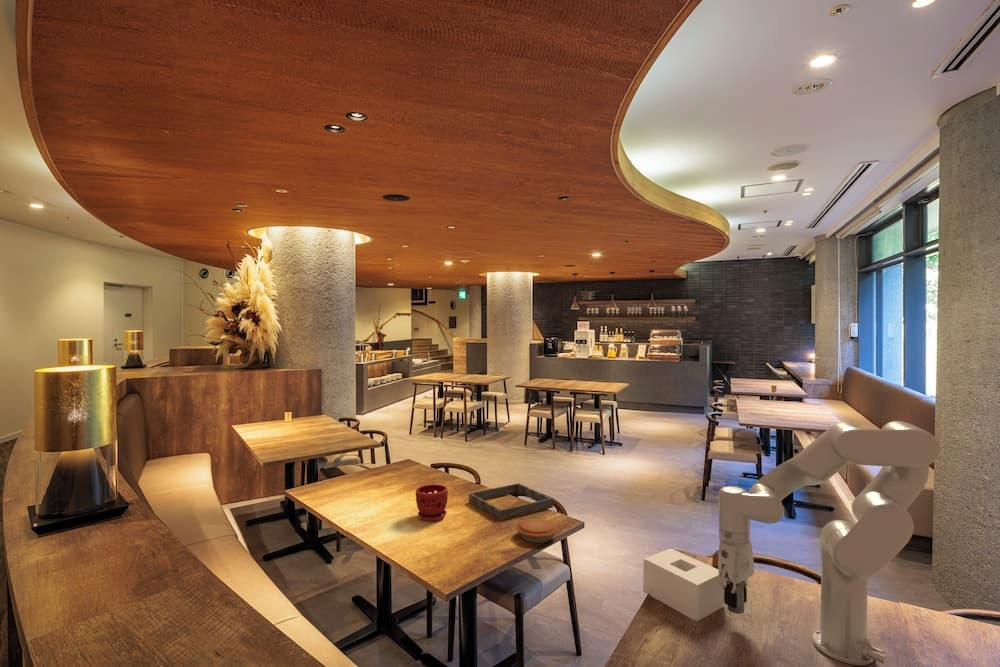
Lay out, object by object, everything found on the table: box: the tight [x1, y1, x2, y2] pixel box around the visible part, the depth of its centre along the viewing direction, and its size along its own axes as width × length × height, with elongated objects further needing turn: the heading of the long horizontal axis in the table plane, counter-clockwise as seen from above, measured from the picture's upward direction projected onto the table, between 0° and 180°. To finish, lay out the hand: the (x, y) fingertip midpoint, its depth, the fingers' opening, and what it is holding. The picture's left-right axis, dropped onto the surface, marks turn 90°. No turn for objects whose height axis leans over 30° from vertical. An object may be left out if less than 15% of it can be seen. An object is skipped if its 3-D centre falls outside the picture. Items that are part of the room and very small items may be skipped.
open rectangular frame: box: [468, 482, 554, 522], centre depth 219 cm, size 25×28×4 cm
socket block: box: [642, 548, 725, 622], centre depth 145 cm, size 18×13×10 cm
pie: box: [515, 518, 558, 544], centre depth 187 cm, size 16×16×5 cm
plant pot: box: [415, 483, 449, 522], centre depth 203 cm, size 13×13×12 cm
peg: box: [727, 577, 745, 615], centre depth 132 cm, size 4×4×8 cm
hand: (735, 602), depth 132 cm, fingers closed on peg, 4 cm apart
